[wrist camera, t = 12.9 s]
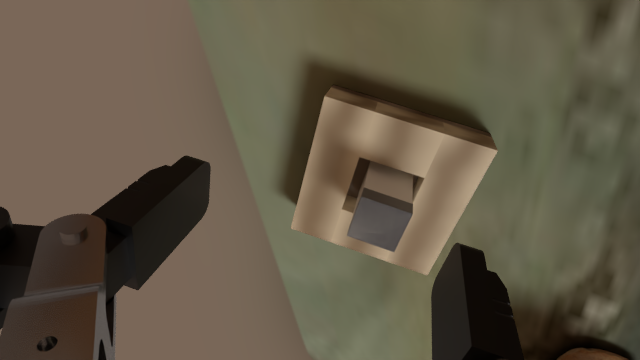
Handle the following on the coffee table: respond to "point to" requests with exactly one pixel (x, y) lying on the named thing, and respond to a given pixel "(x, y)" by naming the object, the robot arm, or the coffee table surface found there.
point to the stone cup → (590, 355)
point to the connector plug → (382, 206)
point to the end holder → (397, 152)
